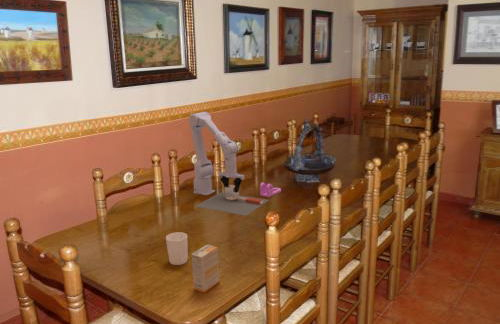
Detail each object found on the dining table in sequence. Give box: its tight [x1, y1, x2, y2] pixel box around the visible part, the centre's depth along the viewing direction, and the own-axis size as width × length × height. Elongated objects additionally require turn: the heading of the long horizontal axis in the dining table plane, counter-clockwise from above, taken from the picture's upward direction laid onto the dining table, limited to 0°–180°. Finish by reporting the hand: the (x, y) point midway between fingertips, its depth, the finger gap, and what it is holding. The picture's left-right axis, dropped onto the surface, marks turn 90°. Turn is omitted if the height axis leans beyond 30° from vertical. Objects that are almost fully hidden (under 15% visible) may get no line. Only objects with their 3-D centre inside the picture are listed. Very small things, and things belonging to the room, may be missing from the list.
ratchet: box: [226, 194, 264, 206], centre depth 229 cm, size 21×7×5 cm, turn 60°
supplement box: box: [190, 244, 220, 293], centre depth 149 cm, size 8×5×13 cm, turn 145°
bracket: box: [259, 182, 282, 198], centre depth 241 cm, size 13×6×7 cm, turn 141°
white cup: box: [165, 231, 189, 266], centre depth 168 cm, size 8×8×10 cm
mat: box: [194, 191, 270, 216], centre depth 228 cm, size 30×24×1 cm
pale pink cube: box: [224, 184, 240, 198], centre depth 232 cm, size 5×5×5 cm
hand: (232, 191), depth 232 cm, fingers open, 5 cm apart
